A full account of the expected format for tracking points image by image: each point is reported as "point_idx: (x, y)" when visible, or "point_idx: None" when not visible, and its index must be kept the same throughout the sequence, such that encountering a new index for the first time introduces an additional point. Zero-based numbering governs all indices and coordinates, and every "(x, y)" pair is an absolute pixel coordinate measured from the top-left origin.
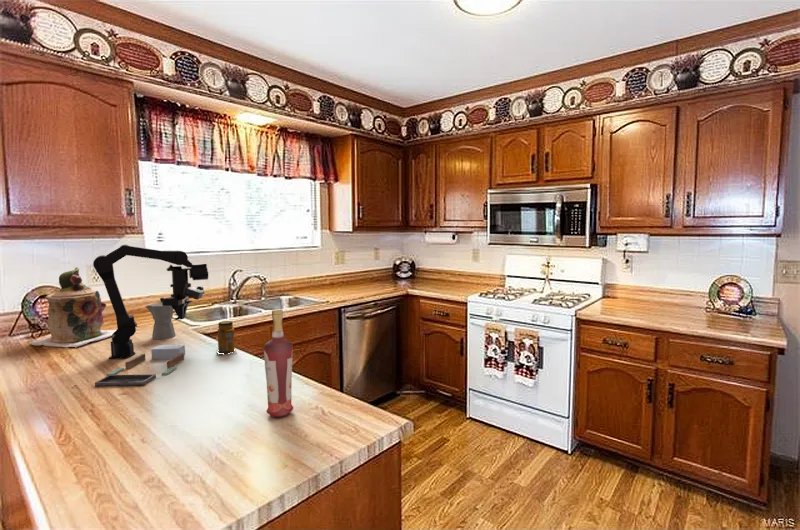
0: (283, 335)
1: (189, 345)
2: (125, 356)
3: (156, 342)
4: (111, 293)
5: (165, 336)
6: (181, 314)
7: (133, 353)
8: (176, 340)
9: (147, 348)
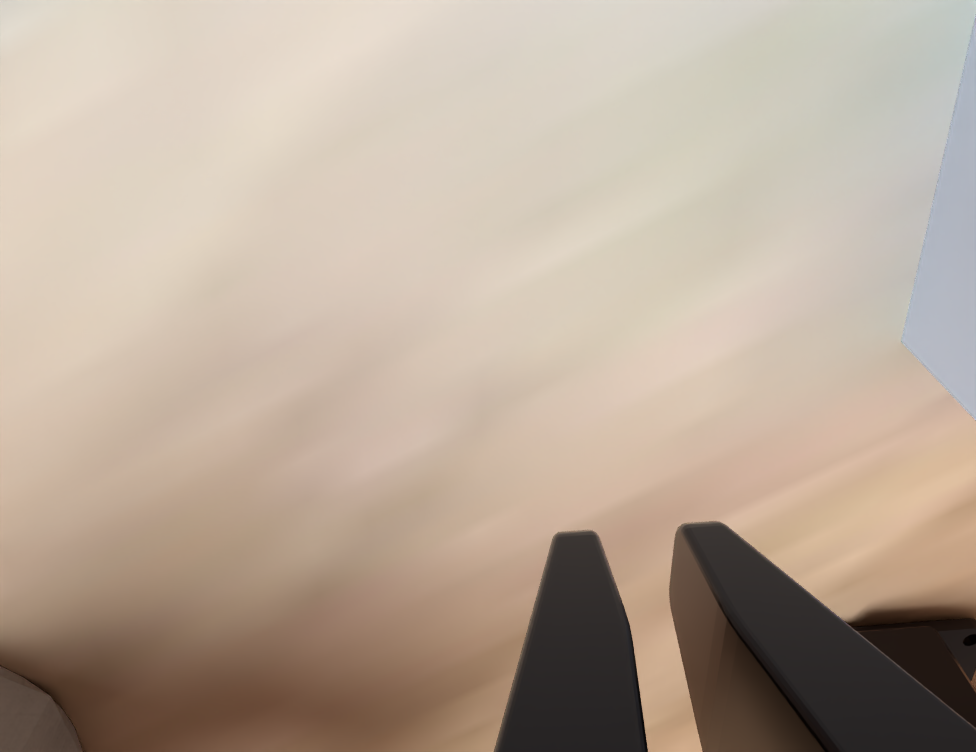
0: None
1: (354, 121)
2: (952, 646)
3: (230, 685)
4: None
5: (11, 710)
6: (893, 699)
7: (863, 631)
8: (66, 506)
9: None
